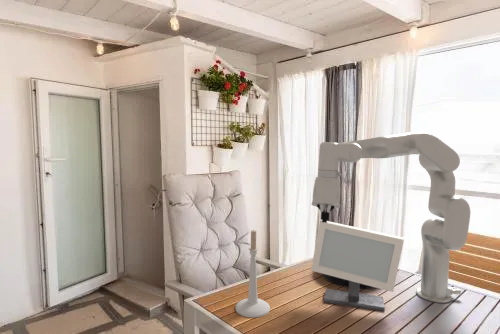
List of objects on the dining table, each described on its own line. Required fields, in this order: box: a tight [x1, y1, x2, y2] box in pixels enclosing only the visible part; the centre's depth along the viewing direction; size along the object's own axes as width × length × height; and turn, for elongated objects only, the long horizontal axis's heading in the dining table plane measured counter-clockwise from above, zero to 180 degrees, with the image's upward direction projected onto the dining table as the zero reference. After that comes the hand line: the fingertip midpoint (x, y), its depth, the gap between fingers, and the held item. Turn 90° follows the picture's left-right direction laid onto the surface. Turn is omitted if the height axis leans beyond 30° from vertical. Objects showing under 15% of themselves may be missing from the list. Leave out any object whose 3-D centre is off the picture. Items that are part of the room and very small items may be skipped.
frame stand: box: [323, 281, 386, 312], centre depth 129 cm, size 22×9×23 cm, turn 73°
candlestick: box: [235, 229, 271, 319], centre depth 122 cm, size 13×13×30 cm
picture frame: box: [310, 219, 405, 293], centre depth 125 cm, size 30×3×20 cm, turn 73°
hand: (324, 221), depth 128 cm, fingers closed
